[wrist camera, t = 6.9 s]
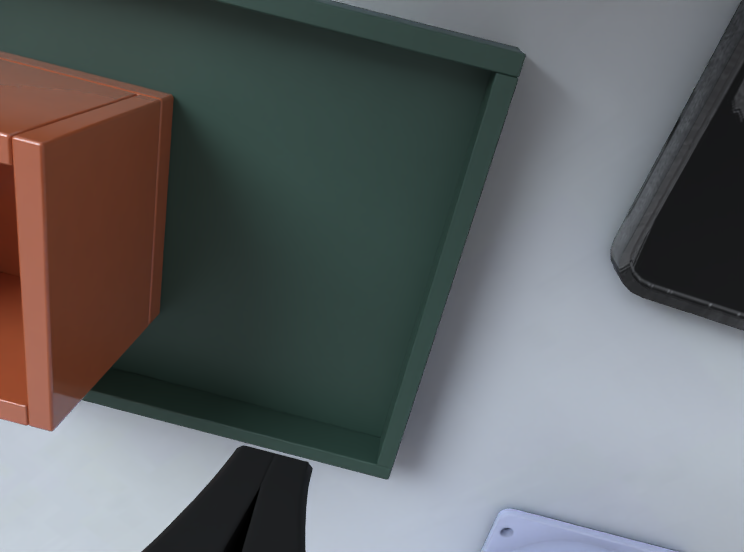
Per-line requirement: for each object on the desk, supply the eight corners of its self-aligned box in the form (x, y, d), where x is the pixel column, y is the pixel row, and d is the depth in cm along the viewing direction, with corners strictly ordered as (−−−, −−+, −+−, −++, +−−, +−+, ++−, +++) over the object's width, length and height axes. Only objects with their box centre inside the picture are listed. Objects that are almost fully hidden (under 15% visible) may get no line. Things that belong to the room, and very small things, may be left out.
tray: (393, 445, 23) (388, 480, 22) (-106, 315, 24) (-149, 340, 22) (519, 47, 17) (526, 54, 15) (-185, -130, 17) (-256, -144, 15)
